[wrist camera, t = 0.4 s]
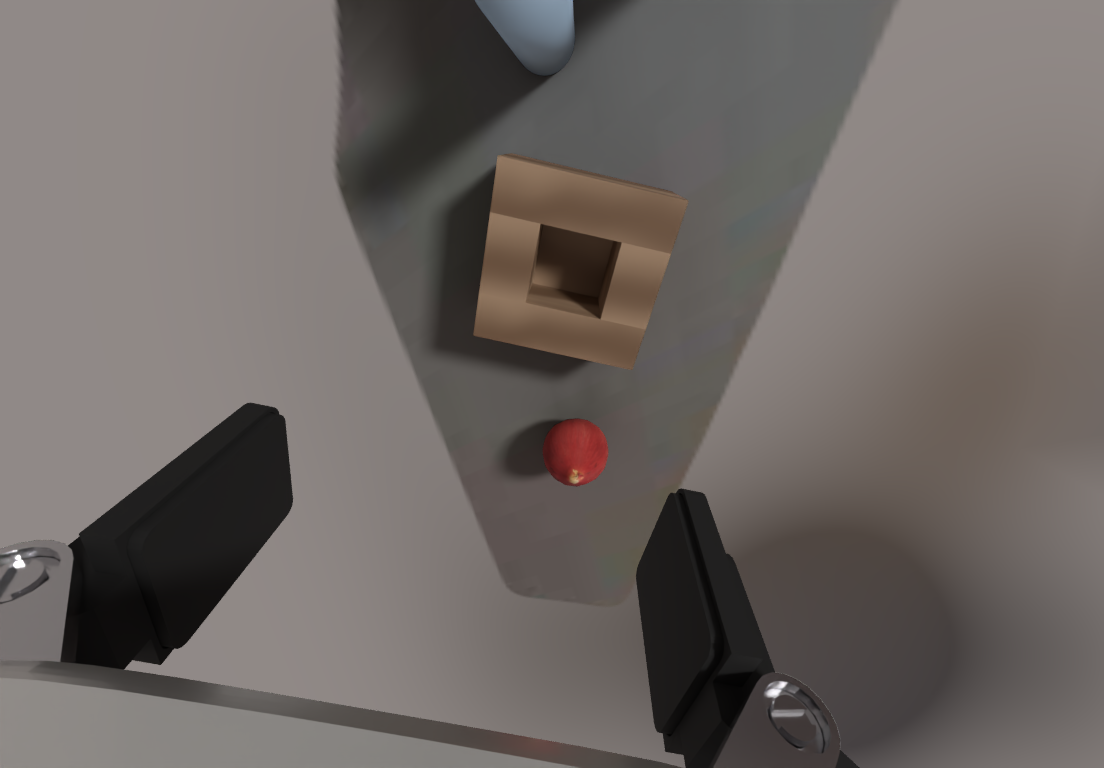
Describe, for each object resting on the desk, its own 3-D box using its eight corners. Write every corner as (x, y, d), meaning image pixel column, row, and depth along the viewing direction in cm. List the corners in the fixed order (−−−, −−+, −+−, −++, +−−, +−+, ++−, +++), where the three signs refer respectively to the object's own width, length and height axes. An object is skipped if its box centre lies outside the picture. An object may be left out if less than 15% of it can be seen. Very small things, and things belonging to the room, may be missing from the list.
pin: (519, -9, 28) (471, -124, 16) (581, 7, 28) (581, -95, 16) (509, 67, 30) (459, 16, 18) (567, 82, 30) (557, 41, 18)
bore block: (511, 153, 33) (497, 155, 27) (671, 191, 33) (688, 200, 28) (488, 308, 38) (473, 335, 33) (625, 339, 39) (632, 370, 34)
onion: (598, 457, 45) (601, 515, 38) (541, 447, 45) (533, 503, 38) (612, 408, 42) (618, 461, 35) (551, 397, 42) (545, 448, 35)
